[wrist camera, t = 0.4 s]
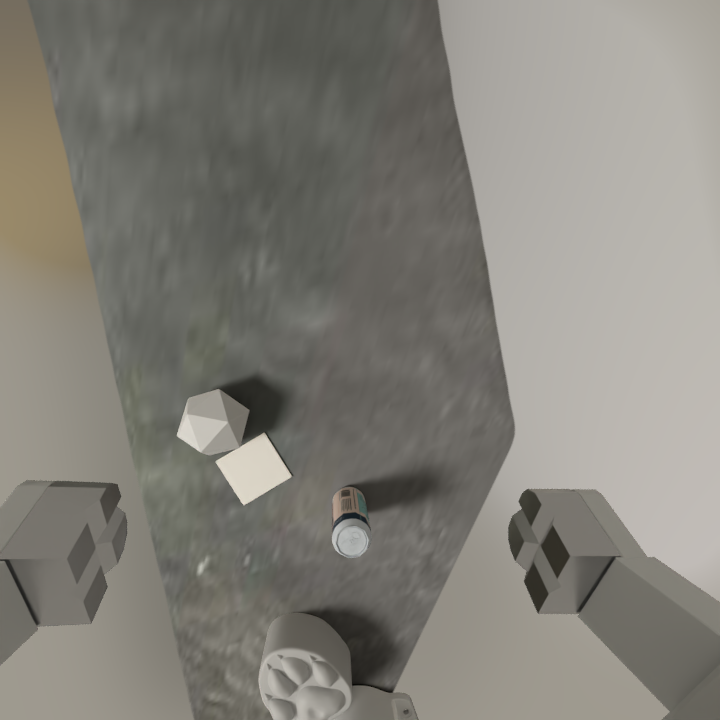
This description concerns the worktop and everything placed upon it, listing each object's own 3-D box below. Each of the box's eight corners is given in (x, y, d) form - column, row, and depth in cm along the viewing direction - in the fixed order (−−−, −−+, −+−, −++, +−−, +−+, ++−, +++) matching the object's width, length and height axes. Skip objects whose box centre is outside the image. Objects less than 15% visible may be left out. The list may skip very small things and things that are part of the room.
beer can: (325, 507, 63) (324, 549, 51) (342, 479, 62) (345, 515, 50) (354, 523, 63) (359, 568, 51) (371, 495, 63) (379, 534, 51)
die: (183, 393, 61) (153, 448, 54) (219, 365, 57) (192, 420, 49) (230, 424, 64) (208, 479, 57) (267, 399, 60) (248, 456, 53)
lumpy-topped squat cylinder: (307, 701, 65) (303, 759, 56) (248, 642, 63) (235, 691, 55) (359, 656, 65) (363, 707, 56) (302, 595, 63) (297, 637, 55)
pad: (292, 476, 62) (291, 476, 62) (243, 504, 62) (243, 505, 62) (264, 432, 61) (264, 432, 61) (215, 461, 61) (215, 461, 61)
